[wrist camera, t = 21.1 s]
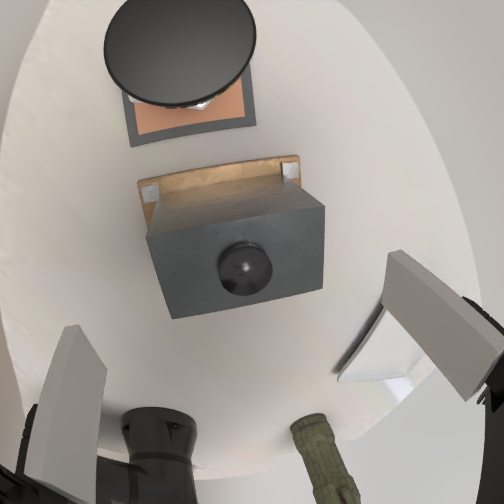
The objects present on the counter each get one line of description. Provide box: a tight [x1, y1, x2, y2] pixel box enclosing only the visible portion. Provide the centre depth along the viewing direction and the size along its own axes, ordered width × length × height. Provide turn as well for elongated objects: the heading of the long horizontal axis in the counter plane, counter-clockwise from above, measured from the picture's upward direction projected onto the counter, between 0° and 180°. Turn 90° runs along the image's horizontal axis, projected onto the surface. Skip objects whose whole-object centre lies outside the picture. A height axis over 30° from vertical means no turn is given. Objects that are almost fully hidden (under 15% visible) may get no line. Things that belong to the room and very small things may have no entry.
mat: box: [122, 63, 256, 147], centre depth 21 cm, size 12×13×1 cm
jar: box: [104, 0, 256, 111], centre depth 16 cm, size 9×8×12 cm
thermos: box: [290, 413, 361, 504], centre depth 42 cm, size 9×12×35 cm
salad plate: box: [337, 307, 425, 383], centre depth 46 cm, size 21×21×3 cm
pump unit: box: [137, 155, 325, 319], centre depth 24 cm, size 16×10×12 cm, turn 96°
